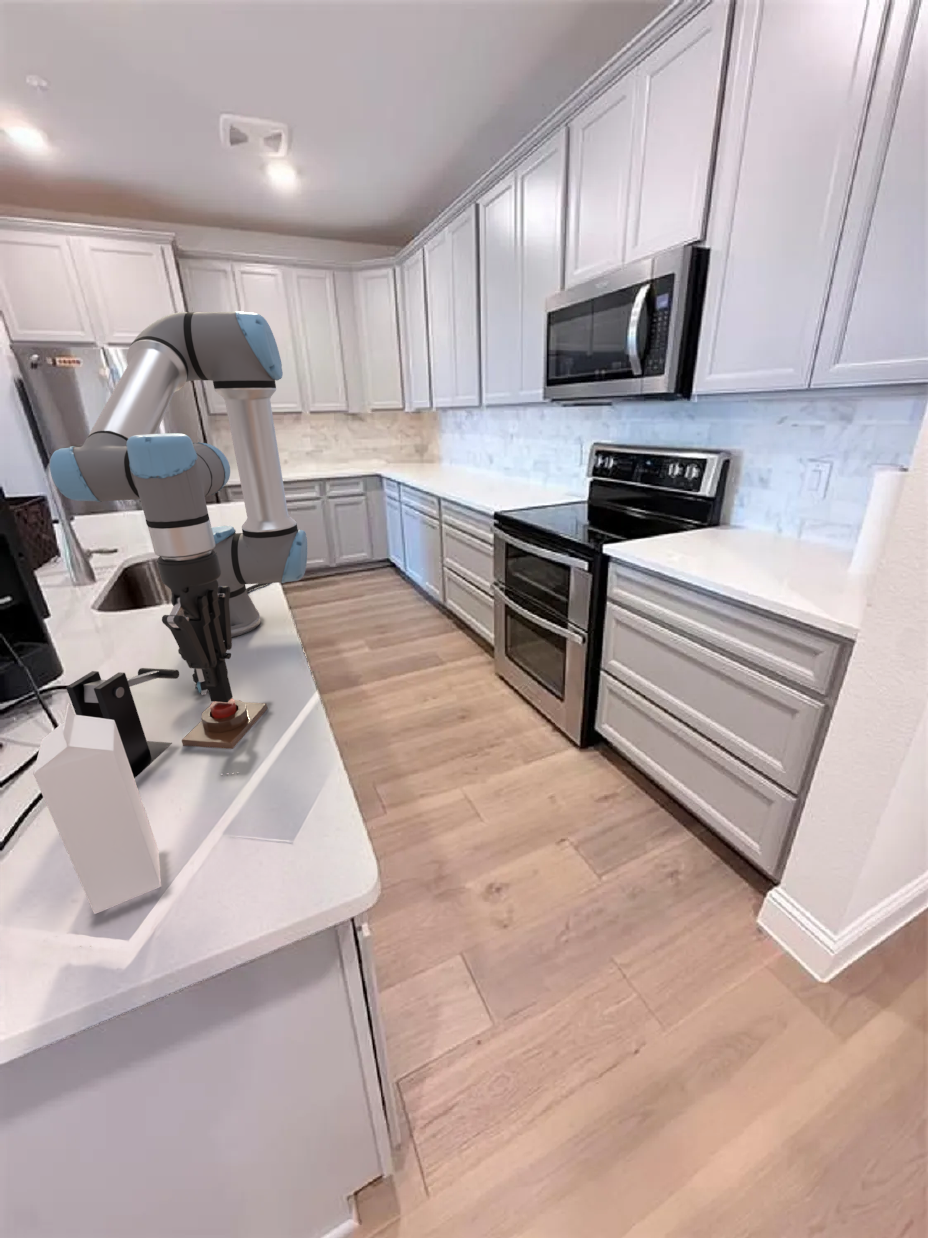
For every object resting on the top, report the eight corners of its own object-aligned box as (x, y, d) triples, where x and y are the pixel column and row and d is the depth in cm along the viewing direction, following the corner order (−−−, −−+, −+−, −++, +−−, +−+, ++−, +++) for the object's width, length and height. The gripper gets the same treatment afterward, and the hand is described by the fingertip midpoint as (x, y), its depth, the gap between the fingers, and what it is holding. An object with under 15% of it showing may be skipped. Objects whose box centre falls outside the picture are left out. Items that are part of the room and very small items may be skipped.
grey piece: (221, 698, 91) (209, 648, 87) (188, 705, 89) (174, 654, 85) (221, 681, 96) (210, 633, 93) (190, 687, 95) (178, 639, 91)
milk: (161, 856, 59) (107, 691, 50) (164, 895, 54) (105, 721, 46) (98, 880, 56) (30, 710, 48) (95, 924, 51) (19, 743, 43)
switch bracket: (126, 745, 78) (98, 661, 73) (174, 749, 77) (149, 663, 72) (73, 791, 69) (35, 698, 64) (126, 795, 68) (93, 701, 63)
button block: (224, 711, 87) (220, 691, 85) (268, 714, 86) (264, 693, 84) (184, 752, 77) (178, 729, 75) (234, 755, 76) (228, 733, 74)
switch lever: (144, 679, 80) (144, 664, 80) (179, 680, 80) (179, 665, 79) (71, 701, 67) (70, 684, 67) (112, 704, 67) (111, 686, 66)
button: (220, 706, 82) (218, 696, 81) (241, 707, 81) (239, 698, 81) (207, 718, 78) (204, 709, 78) (229, 720, 78) (226, 710, 77)
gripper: (190, 540, 76) (222, 677, 86) (127, 566, 64) (172, 722, 74) (237, 541, 75) (264, 679, 85) (181, 568, 63) (221, 725, 73)
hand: (221, 699), depth 79 cm, fingers closed
